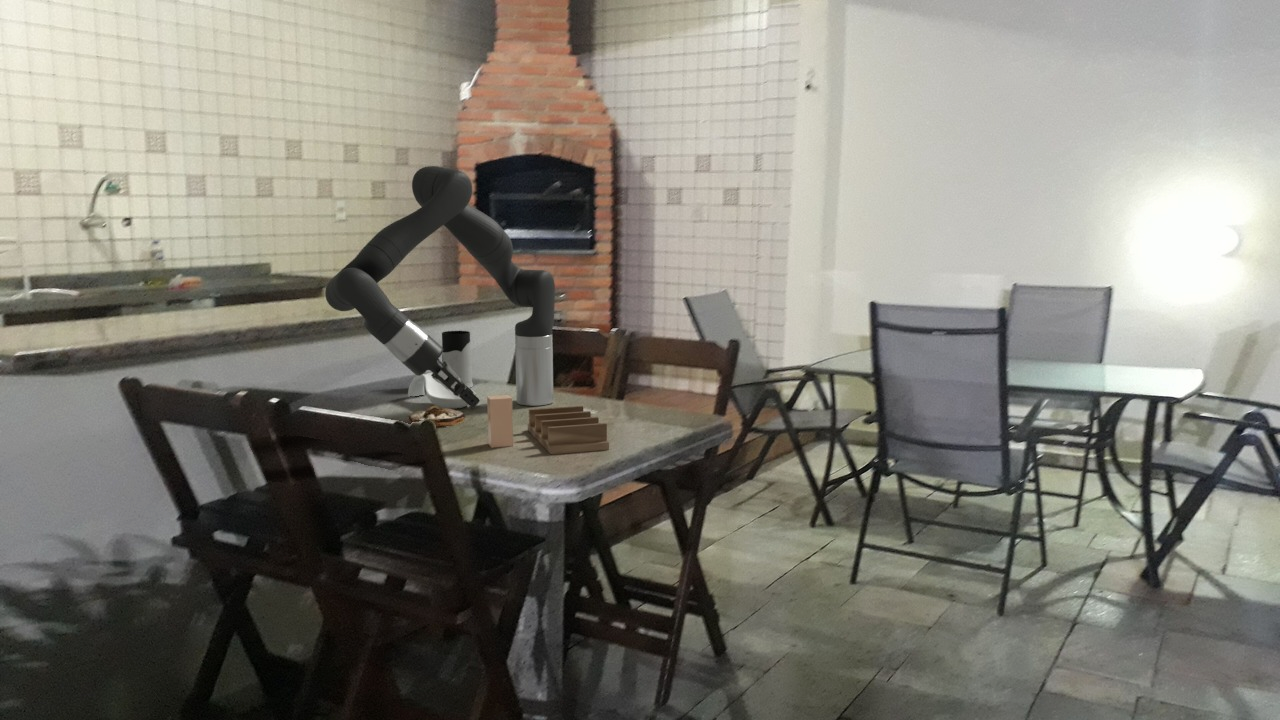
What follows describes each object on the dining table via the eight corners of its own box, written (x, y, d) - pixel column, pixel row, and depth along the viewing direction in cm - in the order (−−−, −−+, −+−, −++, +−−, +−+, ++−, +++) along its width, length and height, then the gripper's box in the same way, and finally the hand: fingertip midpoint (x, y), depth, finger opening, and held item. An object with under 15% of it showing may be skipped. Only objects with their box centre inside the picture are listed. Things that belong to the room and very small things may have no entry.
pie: (459, 414, 225) (458, 397, 224) (478, 427, 212) (477, 408, 211) (397, 420, 218) (396, 402, 217) (412, 433, 205) (411, 415, 204)
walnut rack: (527, 430, 206) (527, 407, 206) (580, 426, 210) (580, 404, 210) (550, 454, 186) (550, 429, 185) (609, 449, 190) (608, 425, 189)
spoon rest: (485, 408, 231) (484, 379, 230) (444, 415, 223) (443, 385, 222) (434, 394, 248) (433, 367, 247) (394, 400, 240) (392, 373, 239)
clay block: (488, 443, 195) (487, 396, 193) (509, 442, 196) (508, 394, 194) (491, 447, 191) (490, 399, 190) (513, 445, 193) (512, 398, 191)
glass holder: (470, 389, 253) (469, 334, 251) (418, 389, 253) (416, 334, 251) (476, 383, 262) (474, 330, 260) (424, 383, 262) (422, 330, 259)
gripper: (430, 337, 179) (492, 393, 184) (422, 328, 192) (480, 380, 198) (403, 366, 178) (465, 421, 183) (397, 355, 191) (455, 407, 197)
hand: (473, 400), depth 191 cm, fingers open, 8 cm apart
